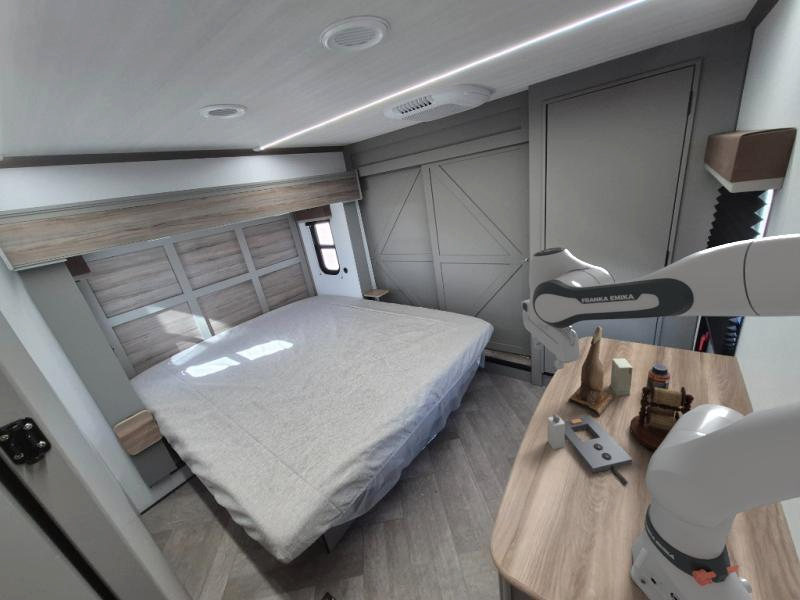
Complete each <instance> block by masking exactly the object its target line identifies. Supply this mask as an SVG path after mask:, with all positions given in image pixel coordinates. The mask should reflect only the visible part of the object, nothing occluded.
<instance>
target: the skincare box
mask: <svg viewBox="0 0 800 600" xmlns="http://www.w3.org/2000/svg"><path fill="white" fill-rule="evenodd" d="M633 369H634V367H633V366H632V365H631V363H630V362H629V361H628V360H627V359H626V358H622V357H621V358H612V360H611V372H610V384H609V385H610V387H611V388H612V390H613V392H614V393H615V395H617V396H630V395H631V387H632V378H633V377H632V376H633Z"/></svg>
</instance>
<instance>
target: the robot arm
mask: <svg viewBox="0 0 800 600" xmlns="http://www.w3.org/2000/svg"><path fill="white" fill-rule="evenodd" d="M528 269H529V271H528V286H529V289H530V297H529V299H525V300H522V301H521V302H520V306H521V308H522V321H523V322H522V323H523V326H524V328H525V329H526V330H527V331H528V332H529V334H531V336H532V339H533V342H534V348H535V349H536V350H537V351H543V350H544V347H546V348H547V349H548V350H549V352H551V353H552V354H553V355H555V358H556V360H554V361H553V367H555V368H556V369H557V370H562V369H564V368H565V364H567V363H568V364H569V363H573V362H577V361H578V360H579V358H580V343H579V337H578V334H577V332H576V331H575V330H574V329H573V327H572V325H575V324H576V323H579V322H583V321H597V320H599V321H601V320H602V321H603V320H604V321H605V320H623V319H624V320H626V319H627V320H628V319H645V318H646V319H647V318H648V319H650V318H660V317H661V318H664V317H669V318H671V317H672V318H673V317H678V318H679V317H758V318H759V317H761V318H763V317H764V318H765V317H766V318H768V317H773V318H774V317H782V318H784V317H800V233H795V234H794V233H793V234H785V235H784V234H783V235H777V236H776V235H775V236H768V237H761V238H753V239H747V240H740V241H735V242H731V243H725V244H722V245H718V246H714V247H710V248H706V249H704V250H700V251H696V252H695V253H692V254H689V255H687V256H685V257H682V258H681V259H679V260H676V261H675V262H673V263H671V264H669V265H666V266H664V267H662V268H660V269H658V270H656V271H653V272H651V273H648V274H645V275H643V276H640V277H636V278H634V279H629V280H624V281H617V282H616V281H615V279H614V276H613V275H612V274H611V272H610V271H608V270H607V269H605V268H604V267H602V266H599V265H594V264H591V263H588V262H585V261H583V260H581V259H578V257H575V256H574V255H573V254H572V253H571V252H570V251H569V250H568V249H567V248H566V247H557V246H556V247H550V248H547V249H542V250H540V251H537V252H536V253H534V254H533V255H532V256H531V259H530V261H529V268H528ZM644 481H645V485H646V486H645V487H646V488H647V491H648V493H650V495H651V501H650V504H649V506H648V507H647V509H646V512H645V517H644V529H643V531H642V532H641V534H640V535H638V536H637V537H636V538H635V539H634V541H633V545H632V550H631V551H632V552H631V554H632V559H633V564H632V566H631V568H630V572H629V573H630V577H631V579H632V580H633V582H634V583H635V584H636V585H637V587H638V588H640V589H639V590H641V591H642V592H643V594H645V596H646V597H647V598H648V600H754V599H753V598H752V596H751V595H750V594H751V593H753V589H752V586H751V584H750V583H749V582H748V580H747V579H746V578H745V577H743V576H739V575H738V574H737V571H738V570H739V567H740V565H739V564H736V565H731V560H730V556H729V552H728V548H727V544H726V543H727V540H728V538H729V536H730V535H729V534H730V532H731V529H732V526H733V524H734V521H735V518H736V516H737V515H738V514H741V513H743V512H746V511H750V510H753V509H757V508H761V507H765V506H768V505H772V504H777V503H779V502H780V503H781V502H784V501H788V500H792V499H797V498H800V400H799V401H795V402H791V403H786V404H781V405H776V406H772V407H767V408H762V409H758V410H754V411H752V412H750V413H748V414H746V415H743V414H742V413H740V412H739V411H736V409H735V410H734V409H732V408H730V407H729V406H728V407H727V406H724V405H721V404H720V405H719V404H712V403H705V404H700V405H697V406H695V407H693V408H692V409H691V410H690V411H688V412H687V413H685V414H684V415H683V414H682V415H681V416H680V418H679V419H678V421H677V422H676V424H675V425H674V426H673V428H672V429H671V430H670V432H669V433H668V434H667V436H666V437H665V439H664V440H663V442H662V443H661V444H660V446H659V447H658V448H657V450H654V452H653V454H652V455H651V458H650V460H649V463H648V467H647V470H646V474H645V479H644Z"/></svg>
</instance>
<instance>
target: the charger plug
mask: <svg viewBox="0 0 800 600" xmlns="http://www.w3.org/2000/svg"><path fill="white" fill-rule="evenodd" d="M564 421H565V420H563V419H562V418H561V416H560V415H558V414H553V415H552V416H550V417H548V418H547V442H548V444H549V445H550V446H551V448H552V449H553V450H557V449H561V448H565V440H566V439H565V423H564Z"/></svg>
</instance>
